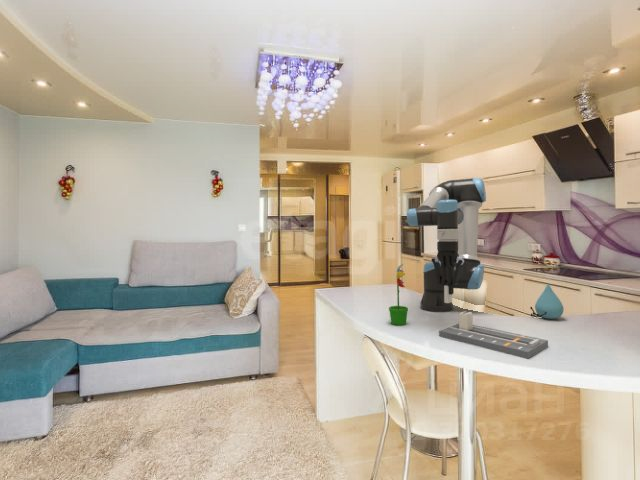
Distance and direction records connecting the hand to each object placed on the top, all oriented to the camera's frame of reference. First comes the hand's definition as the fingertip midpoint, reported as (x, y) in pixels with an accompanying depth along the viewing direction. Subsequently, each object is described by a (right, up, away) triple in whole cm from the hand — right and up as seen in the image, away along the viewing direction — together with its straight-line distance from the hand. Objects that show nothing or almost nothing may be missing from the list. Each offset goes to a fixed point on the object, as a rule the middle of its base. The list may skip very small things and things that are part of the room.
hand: (448, 302), depth 134 cm
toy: (+48, -10, +16) cm, 52 cm away
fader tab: (+5, -9, -5) cm, 11 cm away
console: (+11, -11, -12) cm, 19 cm away
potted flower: (-16, -11, +13) cm, 24 cm away
